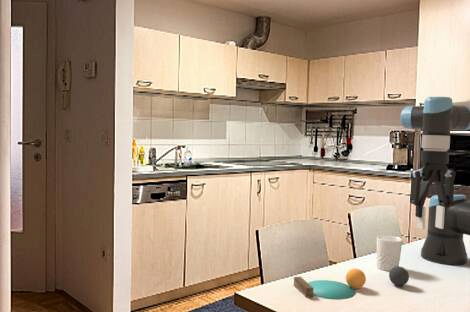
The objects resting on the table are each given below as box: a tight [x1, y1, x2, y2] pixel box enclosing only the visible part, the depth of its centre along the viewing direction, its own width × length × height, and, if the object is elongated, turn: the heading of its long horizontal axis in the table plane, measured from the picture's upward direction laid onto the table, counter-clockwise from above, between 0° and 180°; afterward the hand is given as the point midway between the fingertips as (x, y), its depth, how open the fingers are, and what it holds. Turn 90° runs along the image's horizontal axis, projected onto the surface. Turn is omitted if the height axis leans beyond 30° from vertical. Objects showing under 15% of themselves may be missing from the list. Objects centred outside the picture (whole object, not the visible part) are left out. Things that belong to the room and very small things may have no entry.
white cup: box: [376, 235, 403, 272], centre depth 149 cm, size 8×8×10 cm
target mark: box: [307, 279, 356, 300], centre depth 128 cm, size 14×14×1 cm
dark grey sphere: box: [388, 265, 410, 287], centre depth 133 cm, size 6×6×6 cm
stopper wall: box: [293, 276, 314, 298], centre depth 126 cm, size 2×9×2 cm, turn 14°
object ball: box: [345, 268, 367, 289], centre depth 130 cm, size 6×6×6 cm
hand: (429, 227), depth 134 cm, fingers open, 6 cm apart
